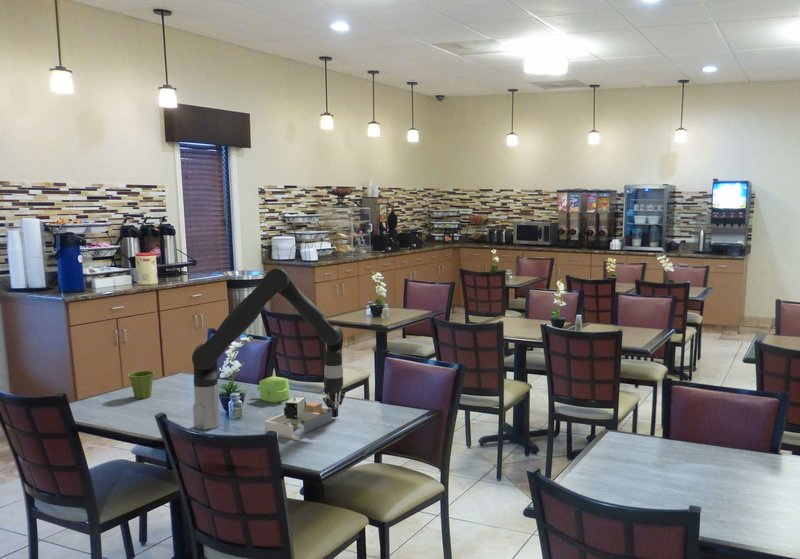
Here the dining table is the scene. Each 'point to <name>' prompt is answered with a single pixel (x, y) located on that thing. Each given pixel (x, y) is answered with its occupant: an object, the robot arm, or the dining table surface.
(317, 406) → the block
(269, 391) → the lime green lidded box
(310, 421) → the grey flat board
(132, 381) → the plant pot
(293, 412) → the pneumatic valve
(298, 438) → the tray
